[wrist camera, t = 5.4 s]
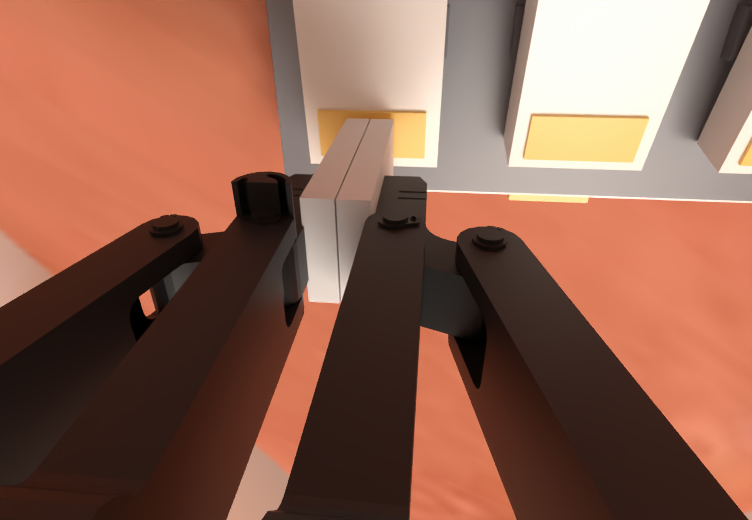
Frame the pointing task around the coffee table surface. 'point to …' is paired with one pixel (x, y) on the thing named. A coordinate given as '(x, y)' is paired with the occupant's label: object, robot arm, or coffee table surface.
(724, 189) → the switch unit
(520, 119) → the rocker
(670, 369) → the coffee table surface
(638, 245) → the coffee table surface
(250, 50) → the coffee table surface
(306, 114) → the rocker
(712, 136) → the block
